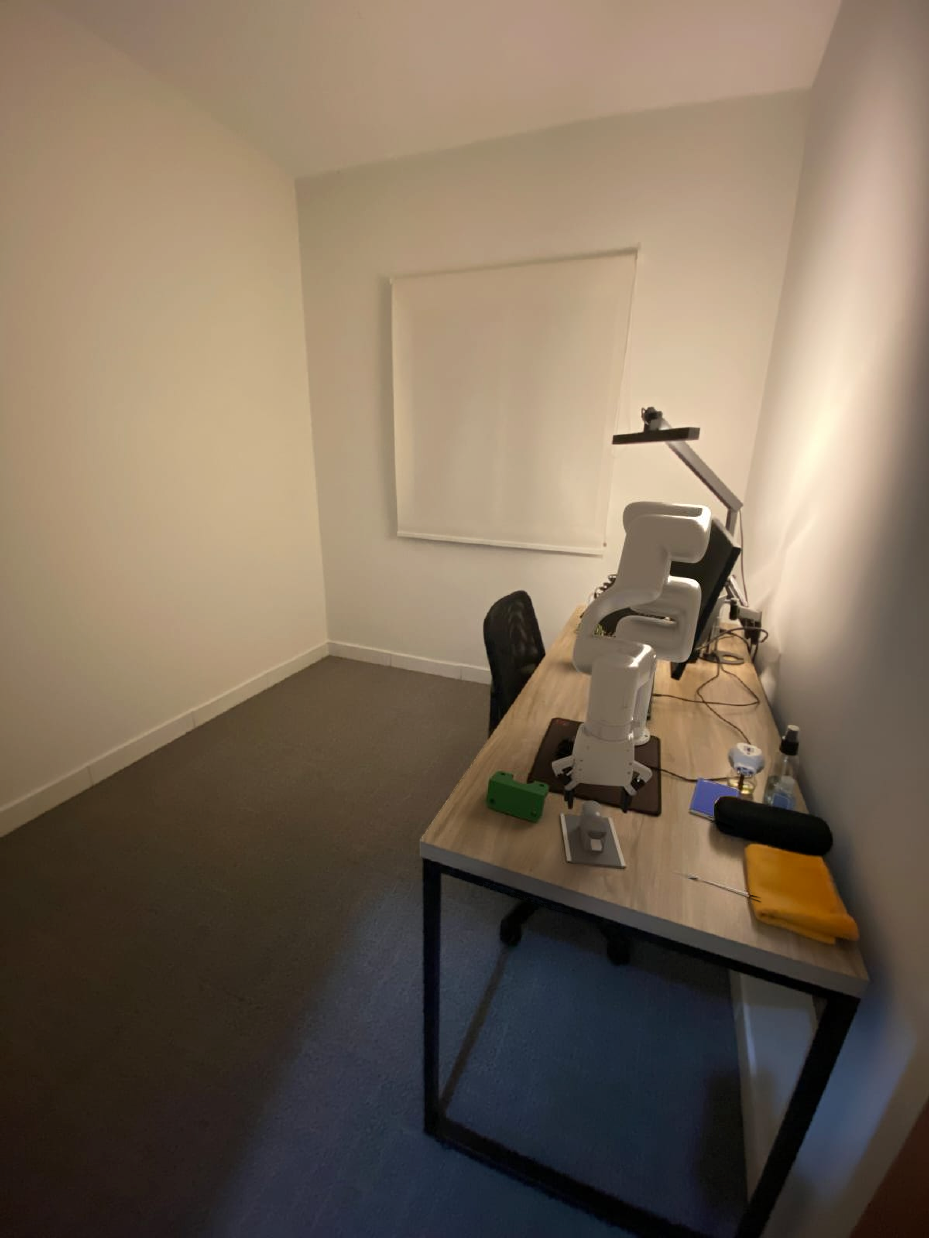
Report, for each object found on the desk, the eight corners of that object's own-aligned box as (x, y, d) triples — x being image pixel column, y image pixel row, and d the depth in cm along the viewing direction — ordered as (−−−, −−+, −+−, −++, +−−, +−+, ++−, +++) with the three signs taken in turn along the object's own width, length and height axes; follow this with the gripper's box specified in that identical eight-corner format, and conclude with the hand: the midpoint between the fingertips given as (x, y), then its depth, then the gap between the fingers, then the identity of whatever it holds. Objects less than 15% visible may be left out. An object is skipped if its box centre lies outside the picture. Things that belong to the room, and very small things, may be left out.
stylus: (641, 849, 88) (761, 887, 81) (640, 854, 88) (760, 892, 81) (639, 865, 85) (764, 906, 78) (638, 870, 85) (763, 911, 78)
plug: (579, 825, 93) (582, 799, 92) (597, 827, 93) (601, 801, 91) (585, 857, 86) (589, 829, 84) (605, 859, 86) (610, 831, 84)
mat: (559, 815, 97) (560, 813, 97) (611, 819, 96) (611, 818, 96) (567, 862, 85) (567, 860, 85) (625, 868, 85) (625, 865, 85)
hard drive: (698, 776, 109) (690, 807, 99) (739, 789, 105) (735, 823, 95) (697, 782, 110) (688, 813, 100) (738, 795, 106) (733, 830, 96)
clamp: (534, 824, 100) (557, 790, 98) (526, 837, 95) (551, 801, 93) (487, 787, 104) (509, 753, 102) (477, 797, 98) (500, 762, 96)
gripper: (653, 716, 86) (639, 795, 92) (554, 709, 88) (546, 788, 93) (666, 740, 79) (650, 824, 85) (558, 732, 81) (549, 816, 86)
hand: (596, 805), depth 89 cm, fingers open, 9 cm apart
